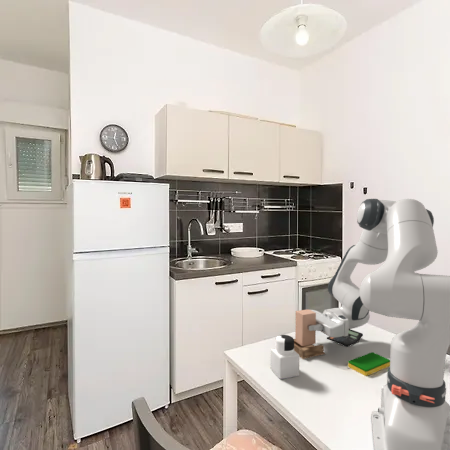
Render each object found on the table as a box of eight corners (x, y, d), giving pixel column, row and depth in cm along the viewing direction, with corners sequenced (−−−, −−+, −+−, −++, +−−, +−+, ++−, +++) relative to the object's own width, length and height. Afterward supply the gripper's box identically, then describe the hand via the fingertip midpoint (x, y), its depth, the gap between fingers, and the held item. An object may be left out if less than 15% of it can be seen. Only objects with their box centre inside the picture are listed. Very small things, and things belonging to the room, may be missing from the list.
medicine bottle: (288, 365, 106) (289, 331, 105) (299, 376, 99) (300, 340, 98) (270, 368, 104) (270, 334, 103) (280, 379, 97) (280, 343, 96)
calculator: (326, 339, 128) (326, 332, 127) (342, 332, 135) (342, 326, 134) (347, 347, 120) (347, 340, 120) (362, 340, 127) (363, 333, 127)
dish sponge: (390, 366, 106) (391, 359, 106) (365, 377, 99) (366, 370, 99) (372, 358, 112) (372, 351, 112) (347, 367, 105) (347, 360, 105)
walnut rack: (306, 342, 124) (307, 335, 124) (325, 354, 114) (325, 347, 114) (285, 346, 121) (286, 339, 120) (302, 359, 110) (302, 351, 110)
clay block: (308, 338, 120) (308, 309, 120) (315, 343, 116) (315, 312, 116) (295, 341, 118) (295, 311, 118) (302, 346, 114) (302, 314, 113)
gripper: (316, 304, 131) (288, 308, 126) (351, 321, 112) (320, 326, 107) (315, 319, 131) (288, 323, 126) (351, 337, 112) (320, 344, 107)
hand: (303, 325), depth 117 cm, fingers closed on clay block, 4 cm apart
